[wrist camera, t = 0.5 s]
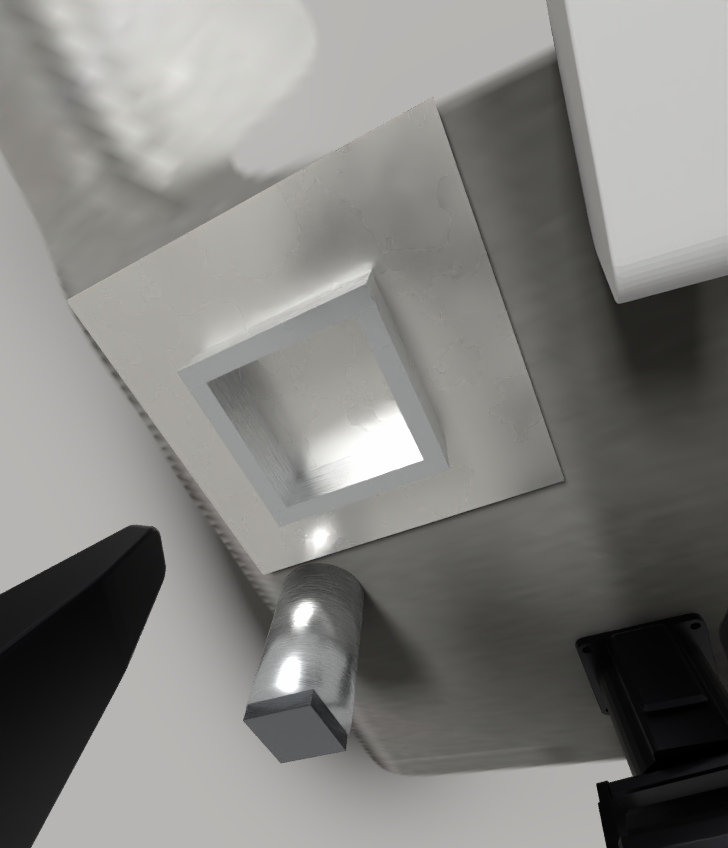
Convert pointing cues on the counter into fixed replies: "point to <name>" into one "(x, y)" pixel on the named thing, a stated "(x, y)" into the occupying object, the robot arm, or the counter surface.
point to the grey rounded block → (649, 135)
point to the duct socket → (333, 352)
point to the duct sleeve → (309, 665)
